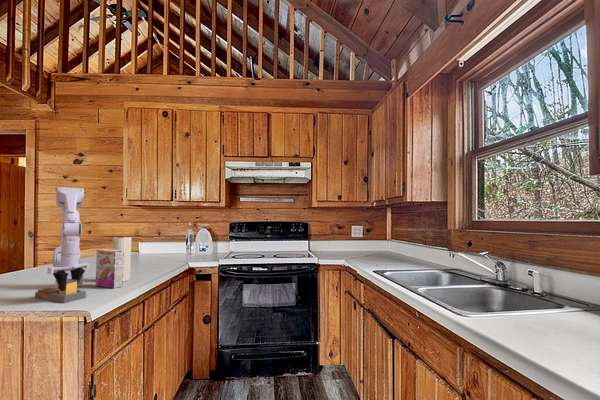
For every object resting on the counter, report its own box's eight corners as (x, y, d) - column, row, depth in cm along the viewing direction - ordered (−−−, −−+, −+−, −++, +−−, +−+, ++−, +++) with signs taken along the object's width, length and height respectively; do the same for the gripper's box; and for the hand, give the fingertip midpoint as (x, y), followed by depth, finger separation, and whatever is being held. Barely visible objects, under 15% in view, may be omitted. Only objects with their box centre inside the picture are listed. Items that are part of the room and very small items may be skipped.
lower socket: (71, 295, 129) (71, 289, 129) (85, 297, 127) (85, 291, 127) (49, 300, 122) (50, 293, 122) (64, 303, 119) (64, 295, 119)
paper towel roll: (109, 283, 153) (111, 237, 154) (113, 280, 159) (115, 236, 159) (126, 282, 154) (128, 237, 155) (129, 279, 160) (131, 236, 161)
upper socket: (59, 292, 134) (59, 285, 134) (74, 294, 131) (74, 287, 131) (34, 297, 126) (35, 290, 126) (50, 300, 123) (50, 292, 123)
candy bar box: (94, 286, 145) (96, 249, 146) (104, 284, 150) (106, 248, 150) (113, 289, 141) (115, 251, 142) (123, 286, 146) (124, 250, 147)
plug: (69, 291, 127) (70, 278, 127) (76, 292, 126) (77, 279, 126) (58, 293, 123) (59, 280, 123) (66, 295, 122) (66, 281, 122)
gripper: (57, 256, 117) (55, 294, 116) (95, 252, 130) (93, 286, 130) (44, 255, 119) (42, 292, 119) (82, 251, 133) (81, 284, 132)
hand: (68, 289), depth 124 cm, fingers closed on plug, 4 cm apart
